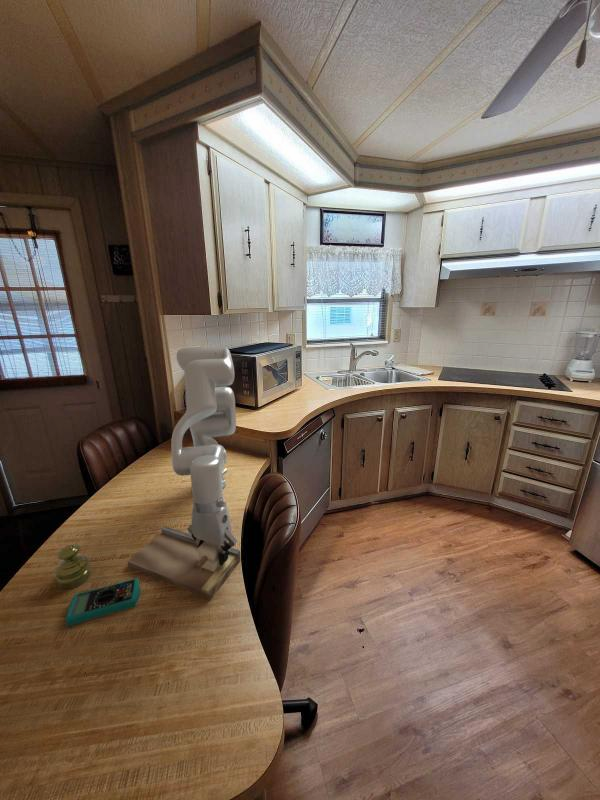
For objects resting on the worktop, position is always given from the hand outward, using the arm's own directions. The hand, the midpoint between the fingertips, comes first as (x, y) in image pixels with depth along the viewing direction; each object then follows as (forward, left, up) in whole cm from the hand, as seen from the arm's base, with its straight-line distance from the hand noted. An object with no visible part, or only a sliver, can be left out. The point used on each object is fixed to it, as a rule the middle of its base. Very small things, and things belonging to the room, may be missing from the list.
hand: (213, 557), depth 85 cm
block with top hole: (+1, 0, -1) cm, 2 cm away
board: (+2, -8, -3) cm, 9 cm away
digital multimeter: (+19, -18, -4) cm, 27 cm away
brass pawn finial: (+17, -32, -4) cm, 37 cm away
